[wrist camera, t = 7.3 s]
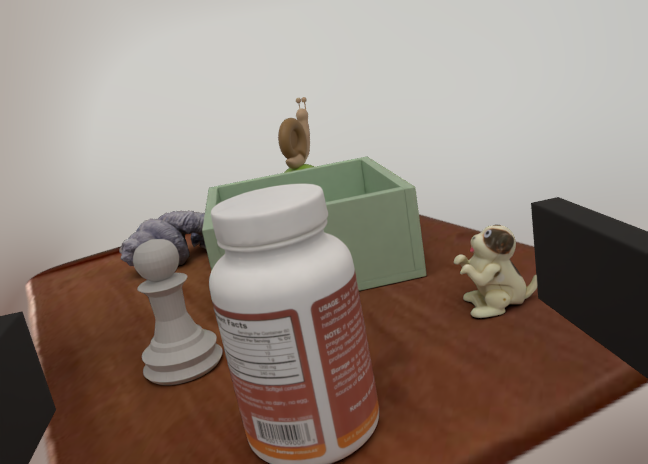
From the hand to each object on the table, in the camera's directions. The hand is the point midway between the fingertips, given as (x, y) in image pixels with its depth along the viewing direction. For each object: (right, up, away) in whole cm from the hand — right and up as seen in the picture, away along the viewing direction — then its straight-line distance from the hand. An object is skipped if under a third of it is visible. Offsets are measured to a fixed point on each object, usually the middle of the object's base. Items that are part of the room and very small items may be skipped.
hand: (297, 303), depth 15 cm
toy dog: (+11, -3, +21) cm, 24 cm away
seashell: (-13, -1, +41) cm, 43 cm away
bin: (0, -1, +34) cm, 34 cm away
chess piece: (-8, -6, +21) cm, 23 cm away
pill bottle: (0, -7, +12) cm, 14 cm away
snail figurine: (-1, +4, +50) cm, 50 cm away
